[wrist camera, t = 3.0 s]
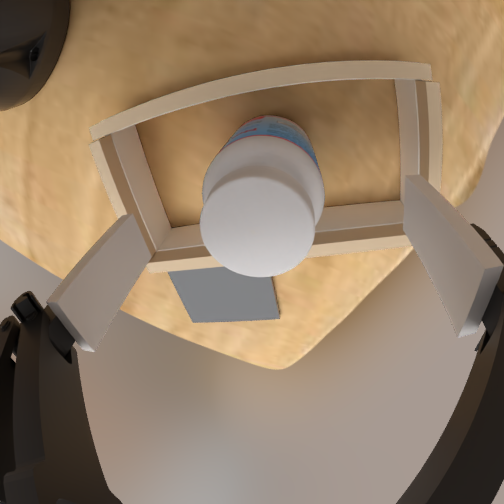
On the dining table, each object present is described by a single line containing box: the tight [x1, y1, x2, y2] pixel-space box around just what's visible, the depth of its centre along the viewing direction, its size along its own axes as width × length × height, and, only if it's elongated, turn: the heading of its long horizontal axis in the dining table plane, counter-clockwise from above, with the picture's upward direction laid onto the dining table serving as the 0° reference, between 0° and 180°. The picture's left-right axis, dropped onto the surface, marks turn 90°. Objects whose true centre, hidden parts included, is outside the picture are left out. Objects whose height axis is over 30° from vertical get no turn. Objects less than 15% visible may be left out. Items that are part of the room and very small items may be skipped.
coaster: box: [168, 266, 280, 323], centre depth 28 cm, size 10×10×1 cm
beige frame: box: [89, 60, 443, 273], centre depth 18 cm, size 12×22×5 cm, turn 102°
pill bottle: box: [200, 115, 325, 277], centre depth 15 cm, size 6×6×11 cm
